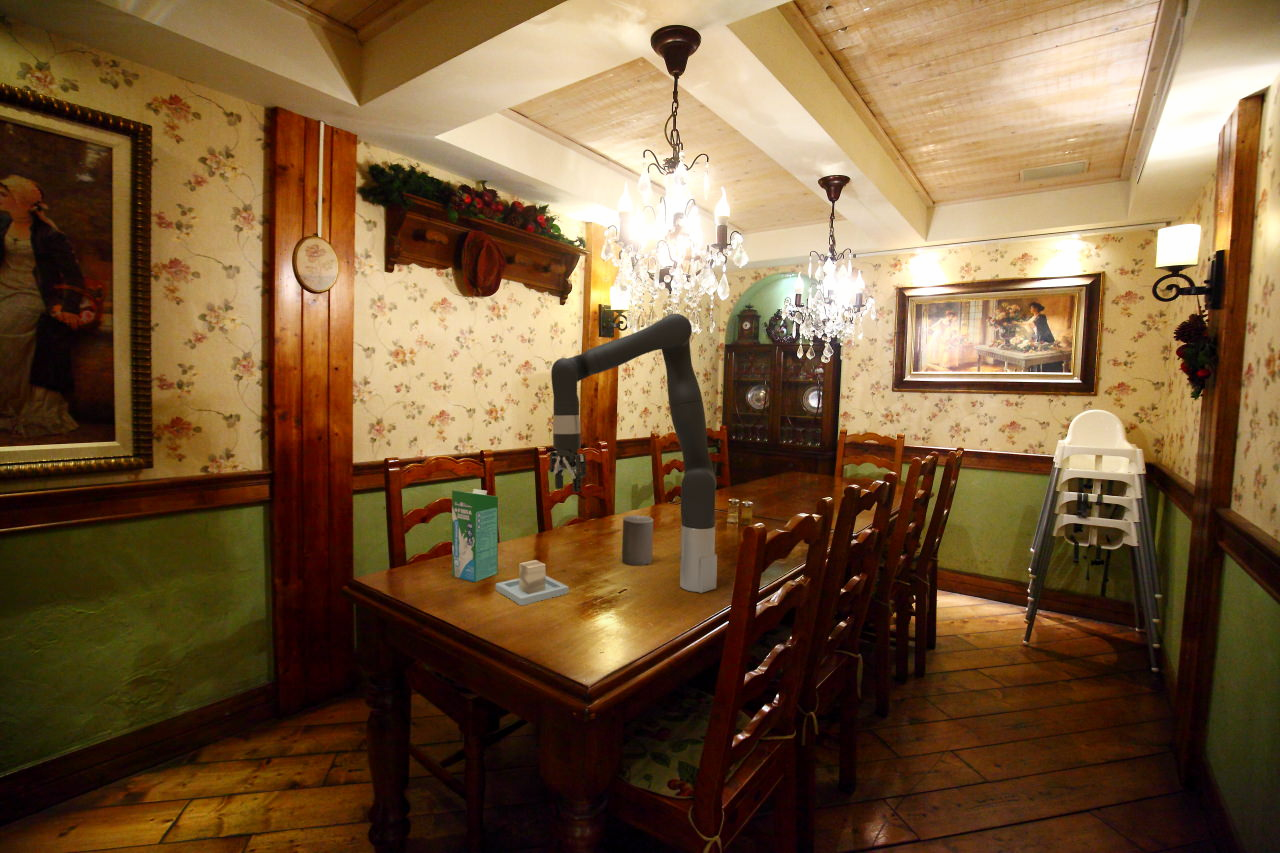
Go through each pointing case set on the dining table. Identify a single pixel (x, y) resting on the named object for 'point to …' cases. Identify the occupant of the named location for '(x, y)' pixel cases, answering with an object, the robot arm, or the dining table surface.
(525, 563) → the maple block
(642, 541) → the pillar candle
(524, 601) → the tray
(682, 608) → the dining table surface
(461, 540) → the milk carton
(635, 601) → the dining table surface
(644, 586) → the dining table surface
